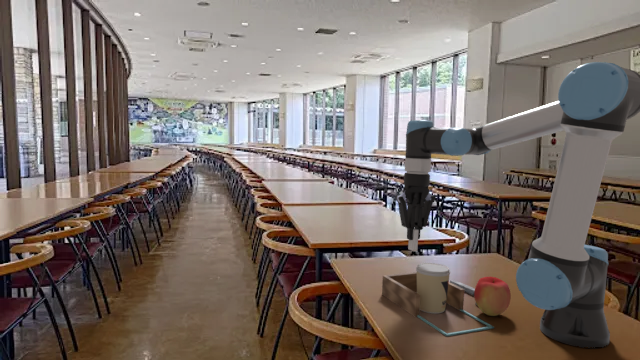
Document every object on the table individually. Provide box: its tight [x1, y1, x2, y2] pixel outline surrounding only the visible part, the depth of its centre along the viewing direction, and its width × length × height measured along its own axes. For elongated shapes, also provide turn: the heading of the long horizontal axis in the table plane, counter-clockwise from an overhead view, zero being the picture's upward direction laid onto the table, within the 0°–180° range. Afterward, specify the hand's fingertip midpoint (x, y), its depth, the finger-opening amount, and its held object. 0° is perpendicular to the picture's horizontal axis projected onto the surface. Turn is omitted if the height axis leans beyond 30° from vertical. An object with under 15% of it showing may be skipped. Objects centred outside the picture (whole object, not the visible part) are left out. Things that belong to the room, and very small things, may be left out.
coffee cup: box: [415, 262, 451, 314], centre depth 126 cm, size 9×9×12 cm
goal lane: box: [416, 308, 495, 337], centre depth 117 cm, size 12×15×1 cm
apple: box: [473, 276, 512, 317], centre depth 122 cm, size 10×10×10 cm
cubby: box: [381, 271, 465, 318], centre depth 131 cm, size 18×16×6 cm
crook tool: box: [449, 279, 478, 307], centre depth 138 cm, size 18×7×2 cm, turn 27°
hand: (412, 249), depth 134 cm, fingers closed
